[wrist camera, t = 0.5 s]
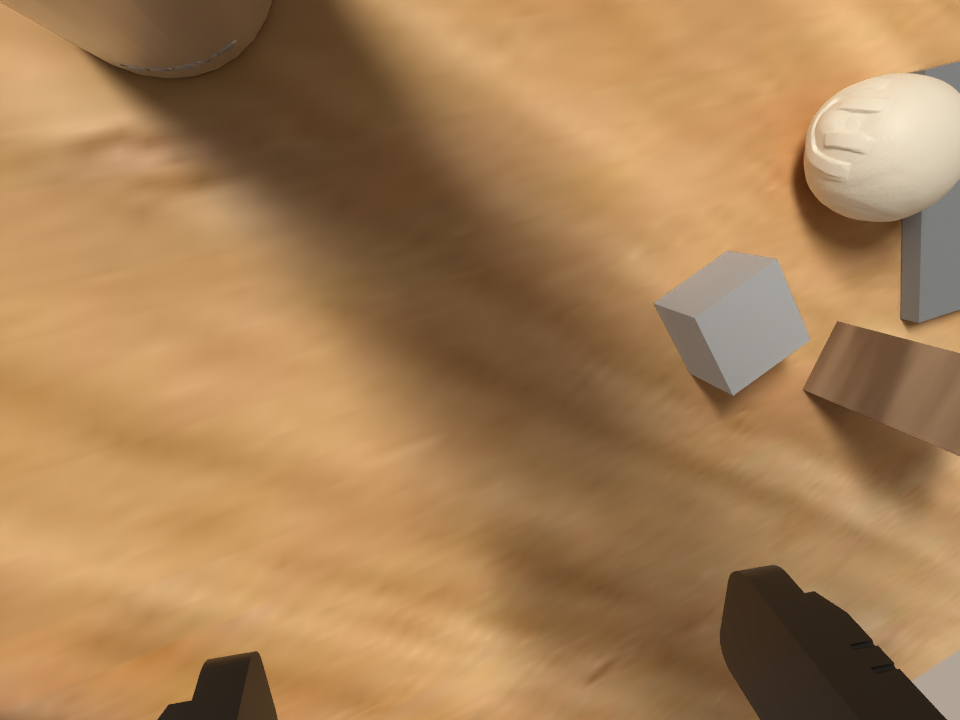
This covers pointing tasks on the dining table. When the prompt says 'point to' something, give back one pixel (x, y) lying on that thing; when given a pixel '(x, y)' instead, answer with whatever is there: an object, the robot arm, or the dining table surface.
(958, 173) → the steamed bun
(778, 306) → the grey block
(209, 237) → the dining table surface
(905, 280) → the plate
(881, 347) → the walnut block
